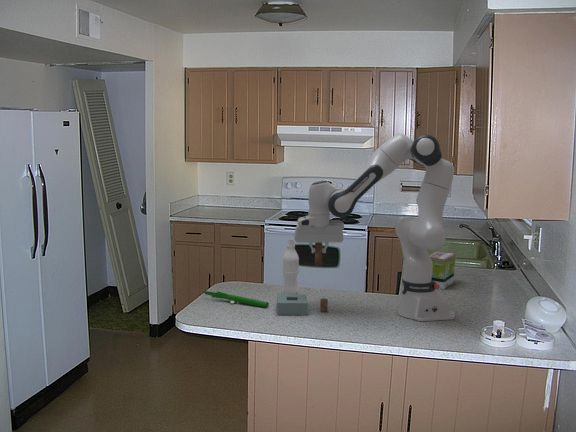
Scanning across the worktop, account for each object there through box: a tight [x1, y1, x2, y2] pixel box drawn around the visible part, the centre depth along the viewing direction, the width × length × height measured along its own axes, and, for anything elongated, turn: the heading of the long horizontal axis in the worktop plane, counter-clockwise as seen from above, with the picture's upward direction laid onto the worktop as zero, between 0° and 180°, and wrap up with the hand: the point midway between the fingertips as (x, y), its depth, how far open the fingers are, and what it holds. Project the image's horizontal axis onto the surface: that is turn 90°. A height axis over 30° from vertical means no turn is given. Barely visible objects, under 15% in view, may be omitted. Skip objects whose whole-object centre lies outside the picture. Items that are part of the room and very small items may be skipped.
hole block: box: [276, 293, 309, 316], centre depth 247 cm, size 12×12×5 cm
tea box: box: [428, 250, 456, 290], centre depth 288 cm, size 15×10×15 cm, turn 148°
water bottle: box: [281, 239, 300, 294], centre depth 265 cm, size 7×7×25 cm
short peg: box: [319, 297, 329, 313], centre depth 247 cm, size 3×3×5 cm
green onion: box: [203, 290, 270, 309], centre depth 256 cm, size 5×3×30 cm
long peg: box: [314, 243, 323, 267], centre depth 252 cm, size 3×3×11 cm
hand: (318, 252), depth 252 cm, fingers closed on long peg, 3 cm apart
